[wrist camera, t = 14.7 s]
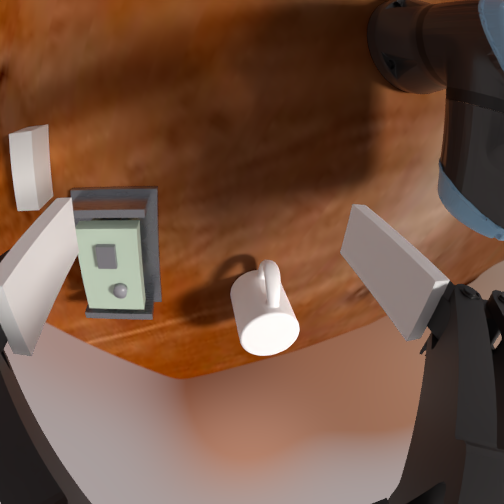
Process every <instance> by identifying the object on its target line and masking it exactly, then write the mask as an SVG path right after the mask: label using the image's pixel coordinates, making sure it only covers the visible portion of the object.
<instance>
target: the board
mask: <svg viewBox="0 0 504 504" xmlns="http://www.w3.org/2000/svg"><path fill="white" fill-rule="evenodd" d="M75 229H76V236H77V242H78V248H79V253H78V258H79V263H80V268H81V273H82V278H83V283H84V287H85V292H86V296H87V300H88V304H89V308H101V309H144V307H145V300H146V297H145V287H144V277H143V266H142V253H141V238H140V220H97V221H79V222H78V224H77V225H76V227H75Z"/></svg>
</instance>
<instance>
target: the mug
mask: <svg viewBox="0 0 504 504" xmlns="http://www.w3.org/2000/svg"><path fill="white" fill-rule="evenodd" d="M230 296H231V301H232V306H233V311H234V315H235V320H236V325H237V329H238V334H239V338H240V343H241V345H242V347H243V348H244V349H245V350H246V351H248V352H249V353H252V354H255V355H261V356H266V355H273V354H276V353H279V352H281V351H283V350H285V349H287V348H288V347H289V346H291V345H292V344H293V343H294V341H295V340H296V338H297V337H298V334H299V324H298V321H297V319H296V317H295V314H294V312H293V310H292V308H291V305H290V303H289V301H288V298H287V296H286V294H285V292H284V289H283V287H282V285H281V282H280V272H279V268H278V266H277V264H276V263H275V262H274V261H272V260H263V261H262V262H261V263H260V266H259V269H258V270H254V271H250V272H247V273H245V274H243V275H241V276H240V277H239V278H238V279H237V280H236V281H235V282H234V284H233V285H232V288H231V292H230Z"/></svg>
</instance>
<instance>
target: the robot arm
mask: <svg viewBox="0 0 504 504" xmlns="http://www.w3.org/2000/svg"><path fill="white" fill-rule="evenodd" d="M367 39H368V46H369V50H370V53H371V56H372V59H373V61H374V63H375V65H376V67H377V68H378V70H379V71H380V73H381V74H382V75H383V76H384V78H385V79H386V80H387V81H389V82H390V83H391V84H392V85H393V86H395V87H397V88H398V89H400V90H403V91H406V92H410V93H416V94H430V93H433V92H436V91H440V90H443V89H446V105H445V122H444V134H443V144H442V152H441V157H440V159H439V180H438V194H439V197H440V199H441V201H442V203H443V204H444V206H445V208H446V209H447V210H448V211H449V212H450V213H451V214H452V215H453V216H454V217H455V218H456V219H458V220H459V221H460V222H461V223H463V224H464V225H466V226H467V227H469V228H471V229H472V230H474V231H476V232H478V233H480V234H482V235H484V236H487V237H489V238H494V237H495V238H496V239H498V240H501V241H504V0H464V1H455V2H447V3H440V4H430V3H426V2H422V1H418V0H391V1H387V2H385V3H383V4H381V5H380V6H378V7H377V8H376V9H375V11H374V12H373V14H372V15H371V18H370V20H369V24H368V29H367ZM459 101H460V102H459ZM468 103H469V104H468ZM472 104H473V105H472ZM476 105H477V106H476ZM483 107H484V108H483ZM497 111H498V112H497ZM78 253H79V248H78V242H77V236H76V229H75V222H74V215H73V206H72V197H71V198H56V200H55V201H54V202H53V203H52V204H51V205H50V206H49V207H48V208H47V209H46V210H45V211H44V212H43V213H42V214H41V215H40V216H39V217H38V219H37V220H36V221H35V222H34V223H33V224H32V225H31V226H30V227H29V229H28V230H27V231H26V232H25V233H24V234H23V235H22V237H21V238H20V239H19V240H18V241H17V243H16V244H15V245H14V246H13V247H12V249H11V250H8V251H6V252H5V253H4V254H2V255H1V256H0V502H1V504H91V502H90V501H89V500H88V499H87V497H86V496H85V495H84V493H83V492H82V491H81V489H80V488H79V487H78V485H77V484H76V483H75V481H74V480H73V478H72V477H71V476H70V474H69V473H68V471H67V470H66V468H65V467H64V465H63V464H62V462H61V461H60V459H59V458H58V456H57V455H56V453H55V451H54V450H53V448H52V446H51V445H50V443H49V441H48V440H47V438H46V436H45V435H44V433H43V431H42V430H41V427H40V426H39V424H38V422H37V420H36V418H35V416H34V415H33V413H32V411H31V409H30V407H29V405H28V403H27V401H26V399H25V397H24V394H23V392H22V390H21V388H20V386H19V384H18V381H17V379H16V377H15V374H14V372H13V370H12V367H11V365H10V362H9V360H8V357H7V355H6V353H5V351H4V347H5V345H6V343H7V341H8V343H9V345H10V347H11V349H12V351H13V353H14V354H20V355H27V356H32V354H33V351H34V349H35V346H36V343H37V341H38V339H39V336H40V334H41V331H42V329H43V326H44V324H45V322H46V319H47V317H48V315H49V312H50V310H51V308H52V306H53V304H54V301H55V299H56V297H57V295H58V293H59V291H60V289H61V287H62V284H63V282H64V280H65V278H66V276H67V274H68V272H69V270H70V268H71V266H72V265H73V263H74V261H75V259H76V257H77V255H78ZM340 253H341V255H342V256H343V257H344V258H345V260H346V261H347V262H348V263H349V265H350V266H351V267H352V269H353V270H354V271H355V272H356V274H357V275H358V276H359V278H360V279H361V280H362V282H363V283H364V284H365V285H366V287H367V288H368V289H369V291H370V292H371V293H372V295H373V296H374V297H375V299H376V300H377V301H378V303H379V304H380V305H381V307H382V308H383V309H384V311H385V312H386V314H387V315H388V316H389V318H390V319H391V320H392V322H393V323H394V325H395V326H396V327H397V329H398V330H399V332H400V333H401V334H402V336H403V337H404V339H405V340H406V341H409V340H415V339H420V338H421V336H422V335H423V333H424V331H425V329H426V327H427V326H428V328H429V329H430V330H431V334H430V336H429V338H428V339H427V341H426V343H425V344H424V346H423V348H422V349H421V351H420V354H422V353H423V352H424V351H425V350H426V355H425V356H426V359H425V367H424V375H423V382H422V388H421V394H420V400H419V406H418V412H417V416H416V421H415V426H414V431H413V435H412V439H411V444H410V448H409V452H408V455H407V459H406V463H405V467H404V470H403V474H402V477H401V480H400V483H399V485H398V487H397V488H396V490H395V491H394V492H393V493H392V495H391V496H390V498H389V500H387V498H385V499H383V500H380V501H378V502H375V503H372V504H504V292H501V291H497V290H495V291H493V292H492V294H491V296H490V298H489V300H483V299H482V298H481V296H480V294H479V293H478V292H477V291H475V290H474V289H473V288H471V287H469V286H467V285H464V284H457V285H454V284H453V283H452V282H451V281H450V280H449V279H448V278H447V277H446V276H445V275H444V274H443V273H442V272H441V271H440V270H439V269H438V268H437V267H436V266H434V265H433V264H432V263H431V262H430V261H429V260H428V259H427V258H426V257H425V256H424V255H423V254H422V253H420V252H419V251H418V250H417V249H416V248H415V247H414V246H413V245H412V244H411V243H409V242H408V241H407V240H406V239H405V238H404V237H403V236H401V235H400V234H399V233H398V232H397V231H396V230H395V229H393V228H392V227H391V226H390V225H389V224H388V223H386V222H385V221H384V220H383V219H382V218H380V217H379V216H378V215H377V214H376V213H374V212H373V211H372V210H371V209H369V208H368V207H367V206H366V205H357V204H352V209H351V213H350V217H349V221H348V225H347V229H346V233H345V237H344V240H343V244H342V248H341V252H340ZM500 333H501V336H502V340H501V342H500V344H499V345H498V346H497V348H496V349H495V348H494V346H493V344H494V342H495V341H496V339H497V338H498V336H499V335H500Z"/></svg>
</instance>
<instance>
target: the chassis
mask: <svg viewBox="0 0 504 504" xmlns="http://www.w3.org/2000/svg"><path fill="white" fill-rule="evenodd" d="M70 191H71V197H72V206H73V215H74V222H75V227H76V225H77V224H78V222H79V221H97V220H140V238H141V253H142V266H143V277H144V287H145V297H146V300H145V307H144V309H101V308H89V304H88V305H87V308H86V311H85V314H86V318H107V319H153V311H154V302H162V293H161V278H160V259H159V233H158V186H125V187H86V188H72V189H71V190H70Z"/></svg>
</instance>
